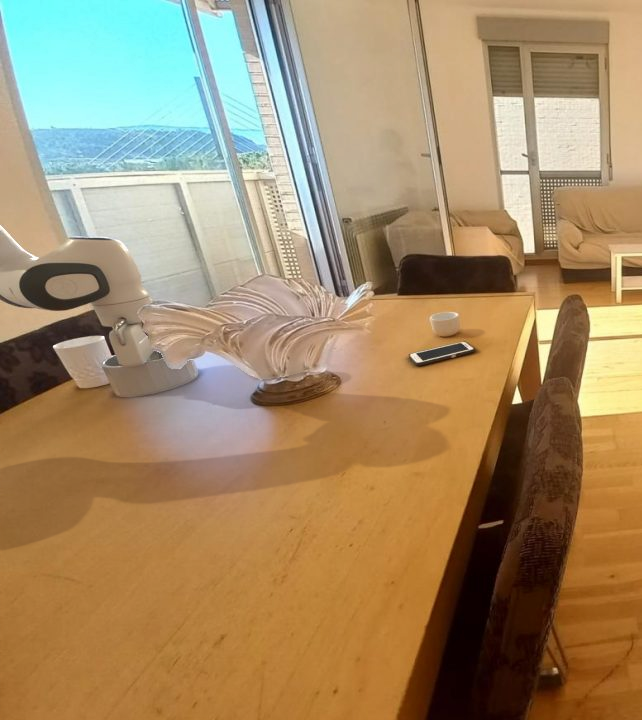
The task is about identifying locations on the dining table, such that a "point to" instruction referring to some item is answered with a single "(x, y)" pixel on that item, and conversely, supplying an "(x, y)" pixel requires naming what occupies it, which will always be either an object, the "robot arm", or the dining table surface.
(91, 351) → the white cup
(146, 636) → the dining table surface
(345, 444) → the dining table surface
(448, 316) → the teacup
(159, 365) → the gray bowl
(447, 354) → the cell phone
